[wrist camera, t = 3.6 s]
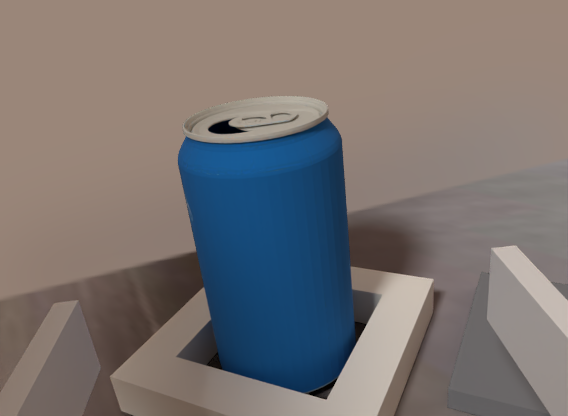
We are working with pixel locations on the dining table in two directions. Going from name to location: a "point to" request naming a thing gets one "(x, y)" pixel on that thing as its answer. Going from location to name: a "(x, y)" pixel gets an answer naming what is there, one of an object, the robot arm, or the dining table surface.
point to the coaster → (490, 368)
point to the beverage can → (272, 237)
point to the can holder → (270, 398)
